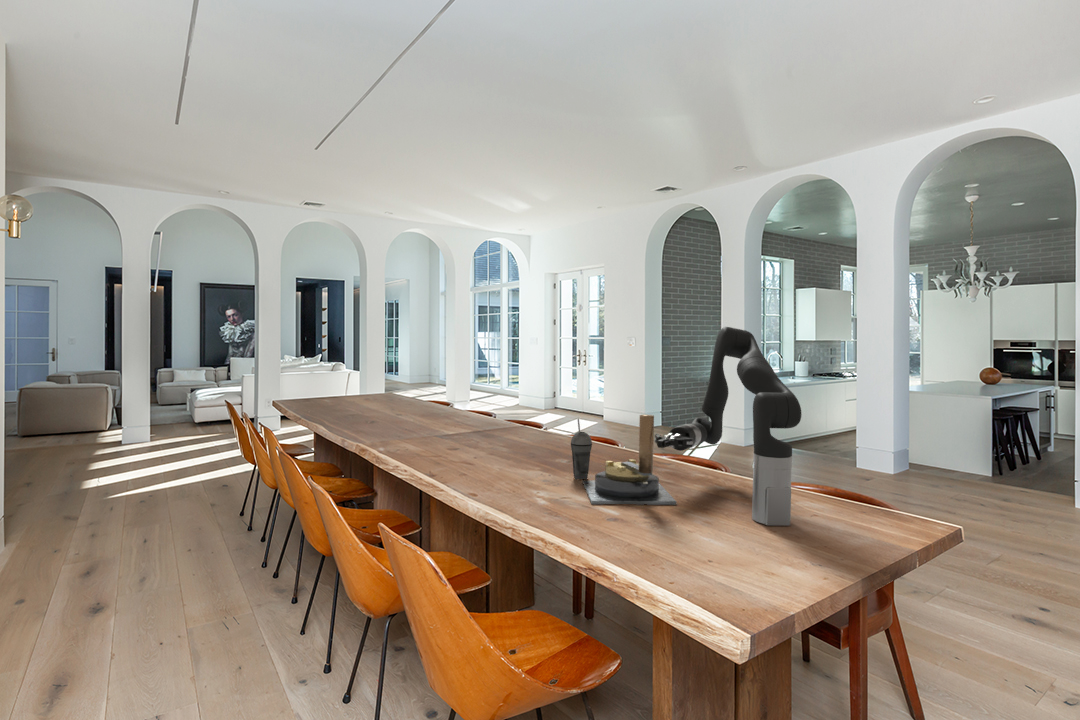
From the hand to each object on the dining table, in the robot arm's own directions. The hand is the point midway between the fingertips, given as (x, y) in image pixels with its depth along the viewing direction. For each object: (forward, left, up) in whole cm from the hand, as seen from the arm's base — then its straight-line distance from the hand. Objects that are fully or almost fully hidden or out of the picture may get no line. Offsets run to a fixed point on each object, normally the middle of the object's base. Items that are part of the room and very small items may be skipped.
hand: (660, 444), depth 172 cm
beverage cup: (+25, +21, -16) cm, 36 cm away
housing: (+6, +9, -16) cm, 19 cm away
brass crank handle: (+2, +8, -11) cm, 13 cm away
